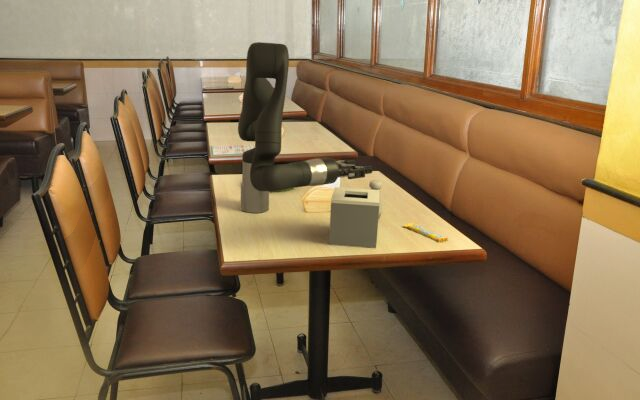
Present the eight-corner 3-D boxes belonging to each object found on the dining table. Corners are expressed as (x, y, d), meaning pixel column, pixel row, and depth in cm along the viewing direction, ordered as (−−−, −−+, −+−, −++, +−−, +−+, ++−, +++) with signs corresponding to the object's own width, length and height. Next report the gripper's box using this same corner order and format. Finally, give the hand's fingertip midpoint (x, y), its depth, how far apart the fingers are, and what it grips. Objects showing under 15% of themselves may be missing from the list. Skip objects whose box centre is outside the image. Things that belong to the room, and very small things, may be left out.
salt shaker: (380, 221, 198) (383, 183, 194) (363, 219, 199) (366, 182, 195) (382, 215, 203) (385, 179, 200) (366, 214, 205) (368, 178, 201)
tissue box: (328, 244, 175) (331, 199, 171) (332, 229, 188) (334, 187, 184) (376, 248, 173) (379, 202, 169) (376, 232, 187) (379, 190, 183)
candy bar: (449, 242, 182) (450, 237, 182) (439, 244, 180) (440, 239, 179) (412, 226, 195) (413, 221, 195) (403, 228, 193) (403, 223, 193)
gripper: (333, 164, 160) (379, 159, 169) (304, 154, 171) (349, 149, 180) (332, 190, 162) (378, 184, 171) (303, 179, 173) (348, 173, 182)
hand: (363, 166), depth 175 cm, fingers open, 7 cm apart
